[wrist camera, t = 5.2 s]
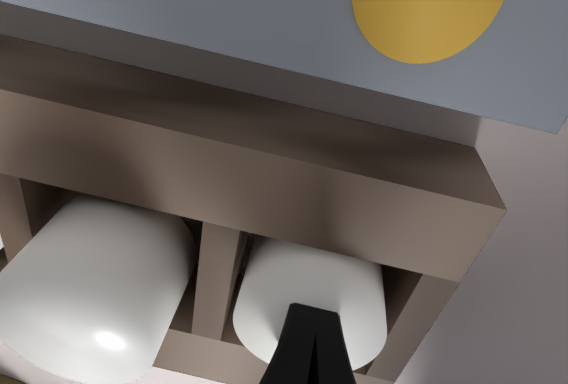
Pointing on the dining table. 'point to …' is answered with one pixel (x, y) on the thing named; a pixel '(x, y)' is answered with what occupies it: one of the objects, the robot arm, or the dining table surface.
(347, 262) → the right button
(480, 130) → the dining table surface
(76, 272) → the middle button
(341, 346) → the robot arm
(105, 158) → the button board
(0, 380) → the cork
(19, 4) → the pattern card
